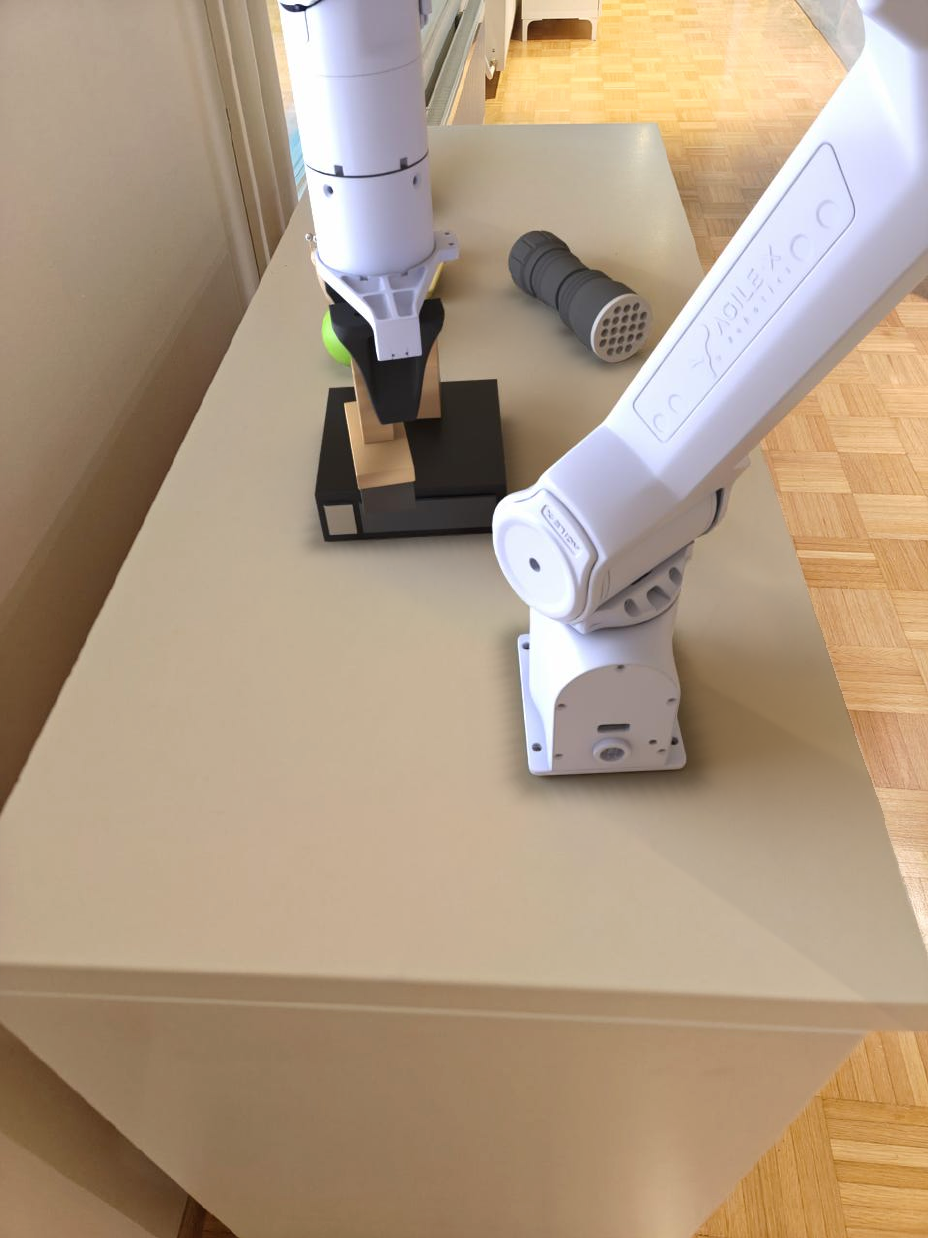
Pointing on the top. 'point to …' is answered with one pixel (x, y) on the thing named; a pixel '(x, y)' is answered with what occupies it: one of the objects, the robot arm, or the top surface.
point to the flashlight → (581, 296)
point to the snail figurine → (329, 320)
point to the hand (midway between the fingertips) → (395, 407)
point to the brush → (379, 455)
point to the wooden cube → (431, 387)
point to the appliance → (421, 469)
